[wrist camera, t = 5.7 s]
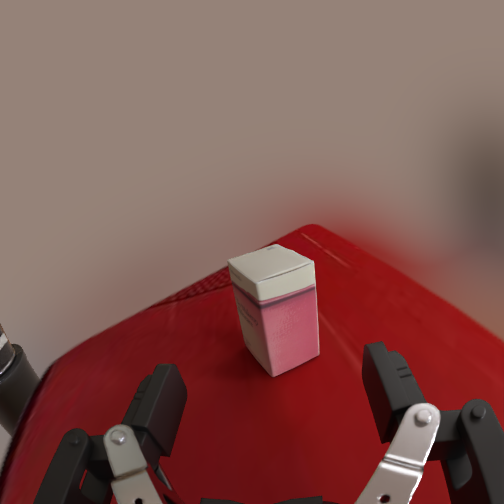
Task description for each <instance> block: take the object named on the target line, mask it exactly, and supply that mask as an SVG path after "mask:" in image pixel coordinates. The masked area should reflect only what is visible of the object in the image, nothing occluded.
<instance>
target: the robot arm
mask: <svg viewBox="0 0 504 504" xmlns="http://www.w3.org/2000/svg"><path fill="white" fill-rule="evenodd" d="M15 359H16V351H15V349H14V348H13V346H12V345H11V343H10V342H9V340H8V338H7V336H6V334H5V332H4V330H3V328H2V326H1V324H0V377H2V376H3V375H4V374H5V373H6V372H7V371H8V370H9V369H10V368H11V366H12V365H13V363H14V361H15ZM362 379H363V384H364V387H365V390H366V393H367V396H368V400H369V403H370V406H371V409H372V413H373V416H374V419H375V423H376V426H377V429H378V433H379V436H380V440H381V444H383V443H386V442H390V447H389V449H388V451H387V452H386V454H385V456H384V458H383V459H382V460H381V462H380V464H379V465H378V467H377V469H376V471H375V472H374V474H373V476H372V477H371V479H370V481H369V482H368V484H367V485H366V487H365V489H364V490H363V492H362V493H361V495H360V496H359V498H358V499H357V501H356V502H355V504H408V503H409V501H410V499H411V497H412V495H413V493H414V491H415V489H416V487H417V485H418V483H419V481H420V479H421V476H422V474H423V471H424V469H423V467H424V464H425V462H426V461H435V460H440V462H441V465H442V469H443V472H444V476H445V480H446V484H447V487H448V492H449V496H450V500H451V504H504V432H503V430H502V428H501V426H500V423H499V421H498V419H497V417H496V415H495V413H494V411H493V409H492V407H491V406H490V405H489V403H487V402H486V401H484V400H481V399H473V400H470V401H468V402H467V403H466V404H465V405H464V406H463V408H462V410H450V411H441V410H438V409H437V408H436V407H435V406H433V405H431V404H428V403H427V402H426V400H425V398H424V396H423V394H422V392H421V390H420V388H419V386H418V384H417V382H416V380H415V378H414V376H413V375H412V372H411V370H410V368H409V367H408V364H407V362H406V360H405V358H404V357H403V356H402V355H400V354H399V353H398V352H397V351H391V352H388V351H387V349H386V347H385V345H384V343H383V342H382V341H380V342H376V343H371V344H366V345H365V346H364V353H363V365H362ZM133 398H134V399H133V400H132V402H131V404H130V406H129V408H128V410H127V412H126V414H125V417H124V419H123V421H122V423H121V425H116V426H113V427H111V428H110V429H109V430H108V431H107V432H106V433H105V435H97V436H88V434H87V433H86V432H85V431H84V430H82V429H78V428H76V429H72V430H70V431H68V432H67V433H66V434H65V435H64V436H63V438H62V440H61V442H60V444H59V446H58V449H57V451H56V453H55V455H54V457H53V459H52V461H51V463H50V465H49V468H48V470H47V472H46V474H45V477H44V479H43V481H42V483H41V486H40V488H39V490H38V493H37V495H36V498H35V500H34V503H33V504H110V502H111V499H112V495H113V492H114V495H115V497H116V500H117V502H118V504H185V503H184V502H183V501H182V500H181V498H180V497H179V496H178V494H177V493H176V491H175V490H174V488H173V486H172V484H171V483H170V481H169V479H168V477H167V475H166V473H165V472H164V470H163V468H162V466H161V464H160V462H159V459H160V456H167V457H170V455H171V451H172V448H173V444H174V441H175V438H176V434H177V431H178V427H179V424H180V421H181V417H182V414H183V411H184V407H185V404H186V401H187V389H186V386H185V384H184V382H183V379H182V377H181V375H180V373H179V370H178V368H177V366H176V365H175V364H158V365H157V366H156V368H155V370H154V372H153V374H152V375H148V376H147V377H146V378H145V379H144V380H143V381H142V382H141V383H140V385H139V387H138V389H137V393H135V395H134V397H133ZM85 469H86V470H87V473H86V476H85V479H84V481H83V484H82V487H81V490H80V489H79V485H80V482H81V479H82V476H83V474H84V471H85ZM200 504H243V503H239V502H235V501H231V500H220V499H207V498H201V502H200ZM275 504H338V503H334V502H327V501H322V496H316V497H308V498H298V499H290V500H286V501H283V502H279V503H275Z"/></svg>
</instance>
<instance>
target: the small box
mask: <svg viewBox="0 0 504 504" xmlns="http://www.w3.org/2000/svg"><path fill="white" fill-rule="evenodd" d="M227 262H228V266H229V271H230V276H231V281H232V285H233V290H234V295H235V300H236V304H237V309H238V313H239V318H240V323H241V328H242V332H243V337H244V341H245V345H246V346H247V348H248V349H249V350H250V352H251V353H252V354H253V356H254V357H255V358H256V360H257V361H258V362H259V363H260V364H261V365H262V367H263V368H264V369H265V370H266V371H267V372H268V373H269V375H270V376H271V377H275V376H277V375H280V374H282V373H284V372H286V371H288V370H290V369H292V368H294V367H296V366H298V365H300V364H302V363H304V362H306V361H308V360H310V359H312V358H314V357H316V356H318V355H319V336H318V315H317V297H316V282H315V269H314V261H312V260H310V259H308V258H306V257H304V256H301V255H299V254H298V253H296V252H294V251H292V250H289V249H286V248H284V247H282V246H280V245H278V244H276V245H272V246H269V247H266V248H263V249H260V250H257V251H254V252H251V253H248V254H244V255H242V256H238V257H235V258H232V259H229V260H228V261H227Z"/></svg>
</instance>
